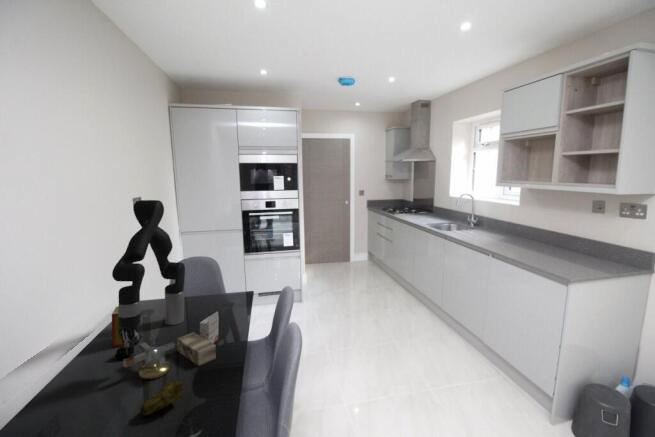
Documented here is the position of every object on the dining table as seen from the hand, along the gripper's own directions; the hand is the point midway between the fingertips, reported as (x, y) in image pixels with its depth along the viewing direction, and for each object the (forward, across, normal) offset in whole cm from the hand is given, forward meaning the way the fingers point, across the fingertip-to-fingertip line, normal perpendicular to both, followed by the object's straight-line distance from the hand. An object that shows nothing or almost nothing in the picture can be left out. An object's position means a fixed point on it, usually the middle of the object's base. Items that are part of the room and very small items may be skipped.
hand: (130, 354), depth 121 cm
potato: (+8, +30, -5) cm, 31 cm away
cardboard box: (+7, +11, +22) cm, 26 cm away
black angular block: (+8, -12, +4) cm, 15 cm away
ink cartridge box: (+7, +8, +32) cm, 34 cm away
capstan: (+7, +6, +5) cm, 11 cm away
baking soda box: (+7, -27, +11) cm, 30 cm away
